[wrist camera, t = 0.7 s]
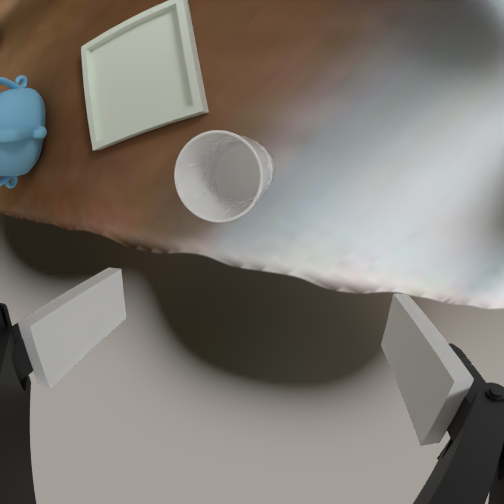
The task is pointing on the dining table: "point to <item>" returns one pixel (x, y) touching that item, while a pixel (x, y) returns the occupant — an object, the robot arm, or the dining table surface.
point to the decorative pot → (20, 129)
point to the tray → (142, 75)
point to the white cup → (222, 175)
